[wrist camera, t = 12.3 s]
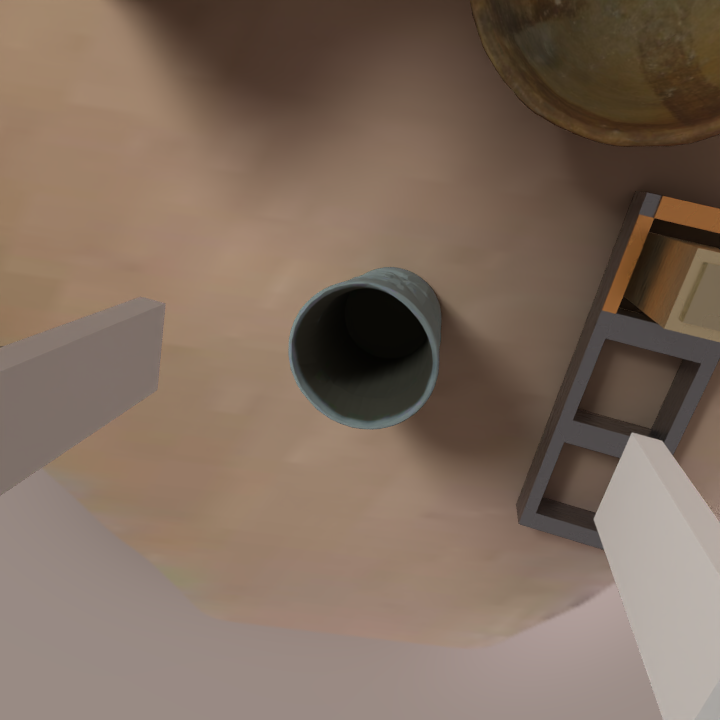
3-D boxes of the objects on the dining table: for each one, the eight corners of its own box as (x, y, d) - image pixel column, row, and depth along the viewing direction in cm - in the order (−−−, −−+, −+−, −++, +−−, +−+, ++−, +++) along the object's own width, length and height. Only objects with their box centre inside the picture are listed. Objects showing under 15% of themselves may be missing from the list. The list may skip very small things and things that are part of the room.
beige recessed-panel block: (647, 231, 41) (700, 248, 32) (717, 247, 41) (792, 269, 31) (623, 295, 43) (666, 330, 33) (689, 311, 42) (752, 351, 33)
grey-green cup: (441, 377, 48) (431, 439, 37) (328, 365, 50) (286, 420, 39) (453, 260, 45) (446, 289, 34) (332, 251, 46) (286, 275, 35)
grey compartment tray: (635, 191, 41) (648, 192, 38) (762, 220, 40) (786, 224, 37) (516, 504, 50) (518, 525, 47) (615, 534, 49) (624, 557, 46)
